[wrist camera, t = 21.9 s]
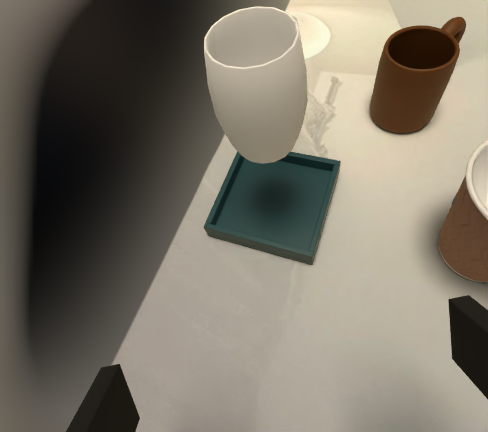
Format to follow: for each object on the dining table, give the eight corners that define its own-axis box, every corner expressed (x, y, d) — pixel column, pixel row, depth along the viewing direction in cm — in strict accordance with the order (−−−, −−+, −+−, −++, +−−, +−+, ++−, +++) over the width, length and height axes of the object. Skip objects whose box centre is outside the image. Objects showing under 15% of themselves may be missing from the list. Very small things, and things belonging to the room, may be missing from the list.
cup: (288, 239, 38) (273, 88, 20) (231, 213, 40) (173, 59, 22) (317, 187, 40) (327, 12, 22) (262, 166, 43) (232, -7, 25)
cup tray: (312, 265, 37) (312, 257, 35) (208, 235, 40) (203, 227, 38) (339, 172, 42) (340, 161, 40) (244, 153, 45) (241, 142, 43)
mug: (414, 65, 48) (437, -5, 40) (466, 90, 45) (503, 20, 37) (356, 115, 46) (367, 51, 37) (406, 145, 42) (431, 83, 34)
